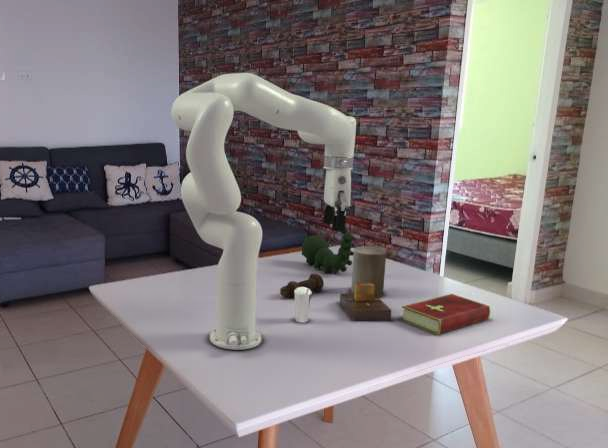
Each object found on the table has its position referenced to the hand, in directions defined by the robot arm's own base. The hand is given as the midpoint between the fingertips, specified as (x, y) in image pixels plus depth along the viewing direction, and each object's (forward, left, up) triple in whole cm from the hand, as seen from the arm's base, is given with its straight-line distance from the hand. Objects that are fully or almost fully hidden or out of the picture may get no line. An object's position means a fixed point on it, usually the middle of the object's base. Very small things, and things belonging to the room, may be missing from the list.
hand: (333, 226), depth 152 cm
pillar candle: (+17, -16, -25) cm, 34 cm away
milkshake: (-6, +9, -25) cm, 27 cm away
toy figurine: (+43, -9, -25) cm, 50 cm away
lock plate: (+1, -10, -24) cm, 27 cm away
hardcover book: (-6, -30, -25) cm, 40 cm away
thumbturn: (+2, -10, -21) cm, 24 cm away
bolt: (+16, +5, -25) cm, 30 cm away
